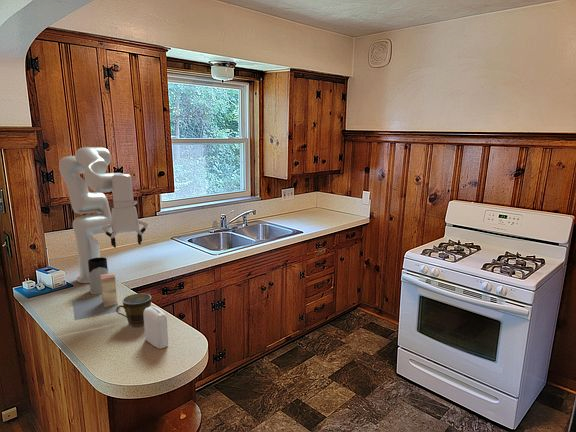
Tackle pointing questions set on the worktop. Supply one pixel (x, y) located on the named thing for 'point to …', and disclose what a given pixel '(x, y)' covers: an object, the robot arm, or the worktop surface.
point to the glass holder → (96, 273)
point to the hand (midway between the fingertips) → (127, 245)
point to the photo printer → (155, 327)
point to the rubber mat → (92, 308)
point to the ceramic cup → (135, 308)
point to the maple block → (108, 289)
